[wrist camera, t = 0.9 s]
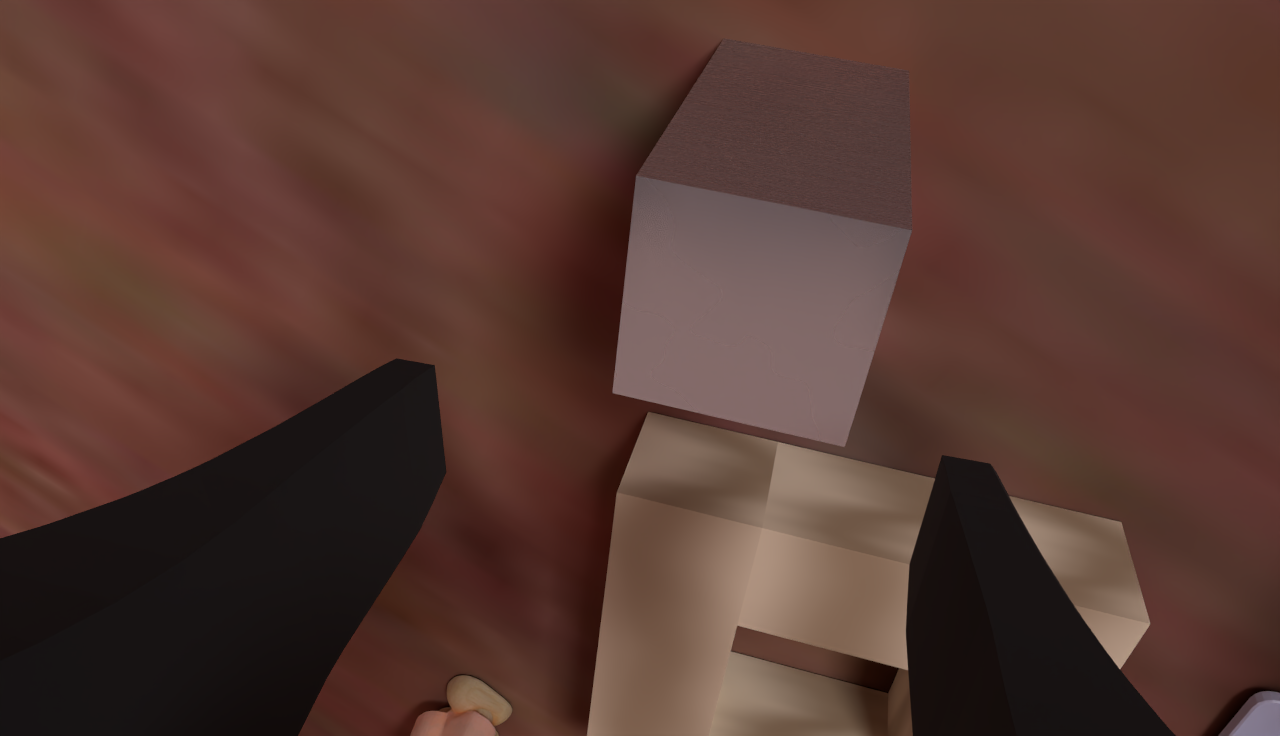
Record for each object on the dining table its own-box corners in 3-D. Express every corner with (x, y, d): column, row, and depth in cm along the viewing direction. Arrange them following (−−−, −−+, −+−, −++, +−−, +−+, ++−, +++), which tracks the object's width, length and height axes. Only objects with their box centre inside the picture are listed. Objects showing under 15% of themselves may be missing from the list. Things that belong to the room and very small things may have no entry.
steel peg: (908, 70, 19) (912, 230, 13) (862, 239, 21) (844, 447, 15) (724, 38, 20) (636, 176, 13) (697, 206, 22) (612, 393, 15)
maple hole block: (1120, 522, 24) (1150, 624, 21) (967, 786, 31) (973, 887, 29) (648, 411, 26) (617, 492, 23) (609, 687, 33) (582, 773, 30)
